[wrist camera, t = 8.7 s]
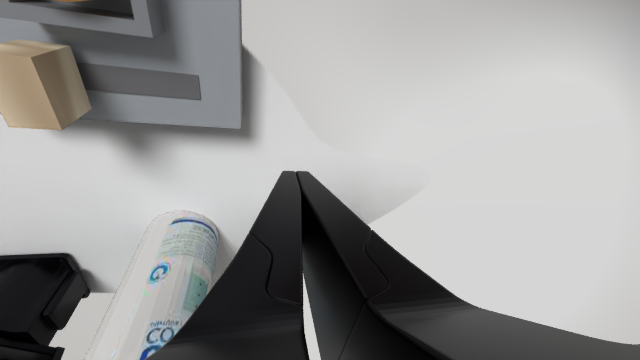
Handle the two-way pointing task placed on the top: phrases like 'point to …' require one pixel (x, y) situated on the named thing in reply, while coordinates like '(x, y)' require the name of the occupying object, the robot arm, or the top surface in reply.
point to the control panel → (144, 55)
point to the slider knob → (40, 85)
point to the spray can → (158, 287)
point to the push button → (72, 0)
